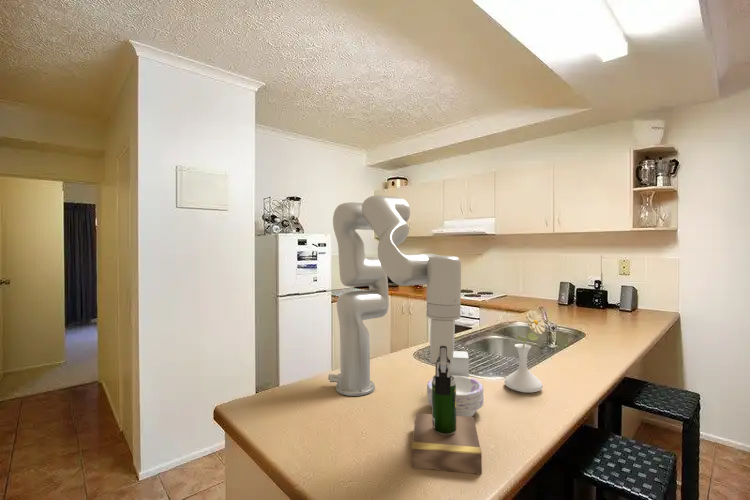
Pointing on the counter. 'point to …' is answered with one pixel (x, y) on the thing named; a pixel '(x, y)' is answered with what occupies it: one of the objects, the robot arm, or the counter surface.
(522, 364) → the flower in vase
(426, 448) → the gold striped gift box
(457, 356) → the supplement box
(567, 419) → the counter surface
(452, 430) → the beer can
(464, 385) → the paper bowls
